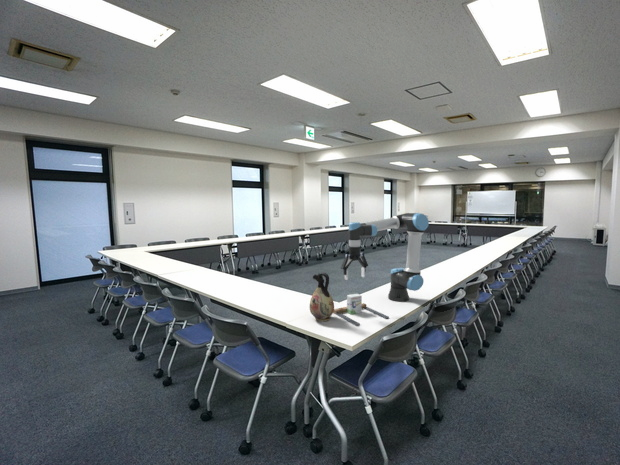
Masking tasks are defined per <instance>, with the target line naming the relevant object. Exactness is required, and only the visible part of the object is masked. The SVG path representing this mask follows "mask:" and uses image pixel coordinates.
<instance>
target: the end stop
mask: <svg viewBox="0 0 620 465" xmlns="http://www.w3.org/2000/svg"><path fill="white" fill-rule="evenodd" d="M364 307H367V304H366V303H362V310H365V309H364ZM338 312H339V313H341V314H345V313H348V312H347V306H343V307H337V308H334V312H333V314H334V315H336V313H338Z"/></svg>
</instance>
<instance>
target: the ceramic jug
mask: <svg viewBox="0 0 620 465" xmlns="http://www.w3.org/2000/svg"><path fill="white" fill-rule="evenodd" d="M323 277H324V278H325V279H324V278H323ZM312 279H313V280H315V281H316V282H317V284H318V285H317V287H316V289H315V290H314V292H313V294H312V296H311V298H310V301H309V311H310V314H311V315H312V316H313V317H314V319H315V320H316V321H318V322H326V321H327V322H328V321H330V319H331V316H332V315H333V314H334V313H333V312H334V309H335V303H334V300H333V297H332V295H331V294H330V292H329V290H328V288H329V285H330V276H329V274H328V273H327V272H321V273H320V272H319V273H318V274H314V275H313V276H312Z"/></svg>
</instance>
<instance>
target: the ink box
mask: <svg viewBox="0 0 620 465" xmlns="http://www.w3.org/2000/svg"><path fill="white" fill-rule="evenodd" d="M362 298H363V297H362V295H361V294H359V293H352V294H347V295H346V307H347V312H346V313H348V314H350V315H354V314H355V315H356V314H360V313H362V311H363V309H362V304H363V303H362Z"/></svg>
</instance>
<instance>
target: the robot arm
mask: <svg viewBox="0 0 620 465" xmlns="http://www.w3.org/2000/svg"><path fill="white" fill-rule="evenodd" d="M429 222H430V221H429V219H428V216H427V215H425V214H424V213H420V212H413V213H412V212H406V213H402V214H398V215H393V216H392V217H390V218H389V217H388V218H384V219H378V220H374V221H369V222H368V221H367V222H363V223H360V222H358V221H357V222H349V223H348V230H347V231H348V246H349V247H348V252H349V253H348V254H346V253H345V254H344V258H343V262H342V264H341V266H340V269H341V270H343V275H344V280H346V281H349V270H348V269H349V267H350V265H351V264H352V263H353V262H354V261H357V262H358V263H359V264H360V265H361V268H360V269H361V270H360V273H361V277H362V278H366V271H367V269H366V268H367V267H368V266H369V263H368V261H367V259H366V257H365V253H364V252H362V251H361V237H362V238H364V237H375V236H376V235H377V234H378V232H379V231H381V232H382V231H385V230H390V229H395V230H398V229H404V230H405V229H406V232H407V234H408V239H407V248H406V249H407V251H406V261H405V263H406V264H405V268H404V267H397V268H396V267H395V268H392V269H390V288H389V293H388V295H387V297H388V300H391V301H395V302H407V301H409V300H410V295H409V292H408V290H409V291H414V292H417V291H418V290H421V288H422V286H424V278H423V276H422V275H421V270H420V269H419V268H420V259H421V258H420V255H421V246H422V245H421V244H422V235H424V234H425V230H427V228H428V227H429Z"/></svg>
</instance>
